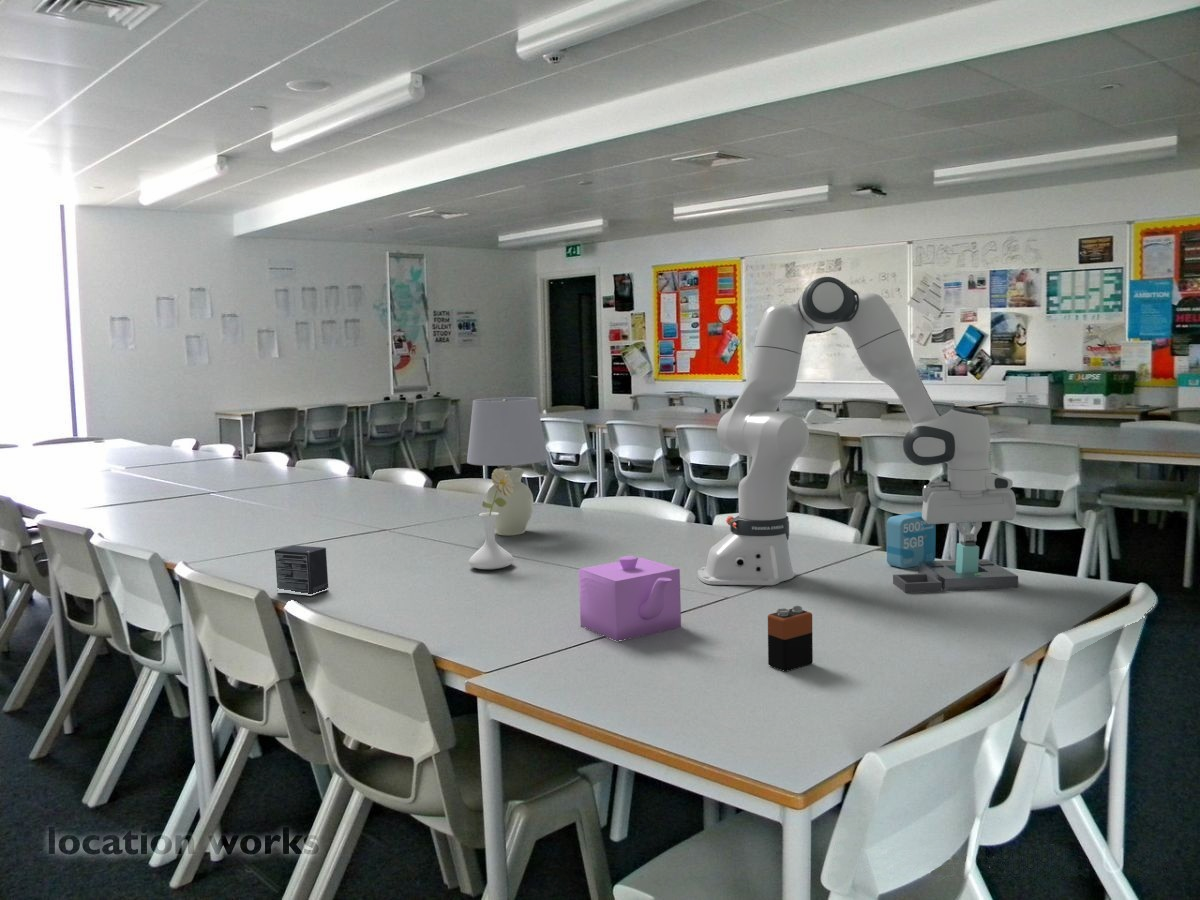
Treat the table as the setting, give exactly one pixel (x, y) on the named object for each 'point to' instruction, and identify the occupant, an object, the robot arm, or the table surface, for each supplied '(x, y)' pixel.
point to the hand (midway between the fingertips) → (968, 541)
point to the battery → (790, 638)
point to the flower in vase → (491, 551)
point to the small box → (301, 569)
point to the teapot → (630, 598)
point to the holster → (917, 583)
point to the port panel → (969, 575)
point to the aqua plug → (967, 557)
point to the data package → (910, 540)
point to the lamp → (507, 453)
